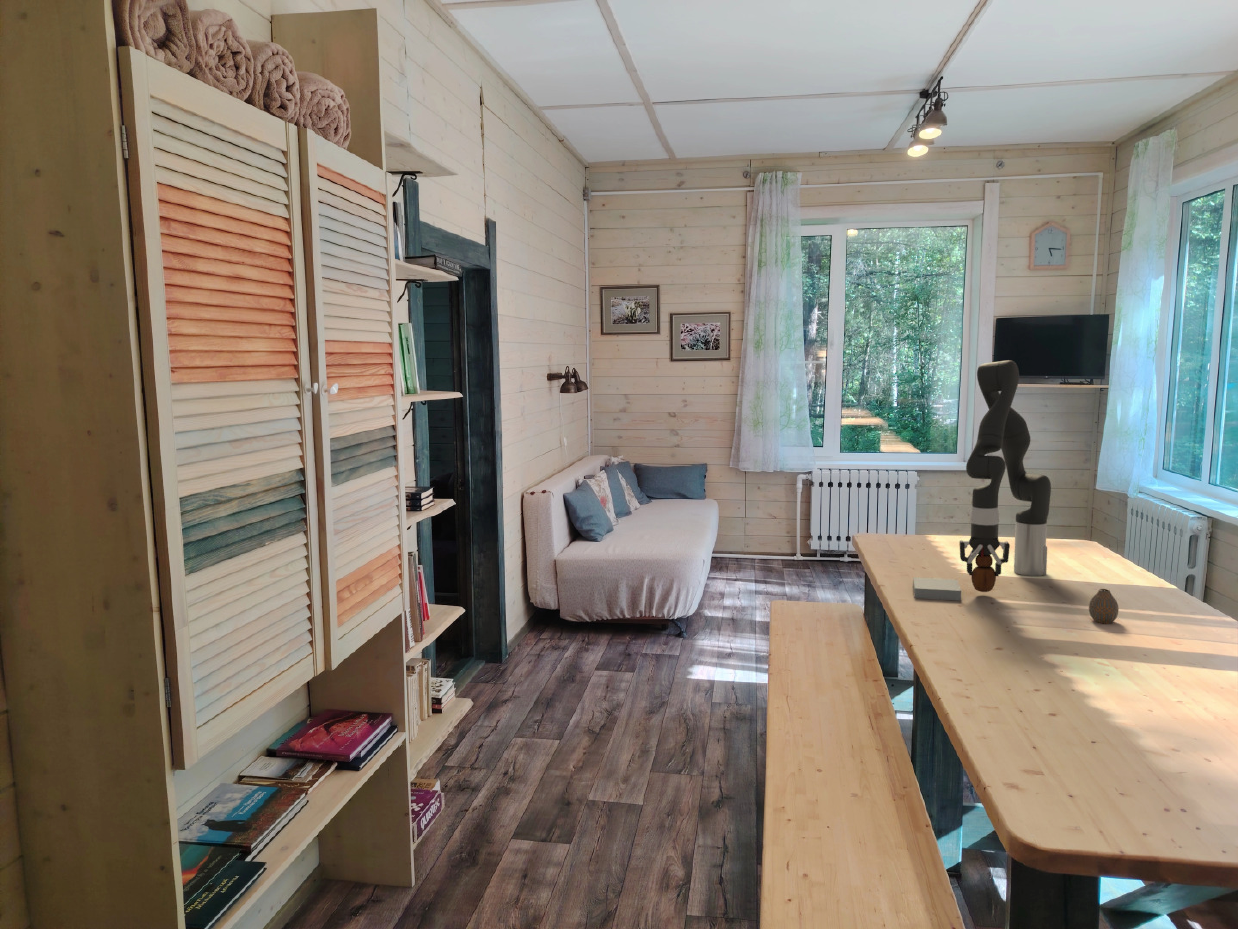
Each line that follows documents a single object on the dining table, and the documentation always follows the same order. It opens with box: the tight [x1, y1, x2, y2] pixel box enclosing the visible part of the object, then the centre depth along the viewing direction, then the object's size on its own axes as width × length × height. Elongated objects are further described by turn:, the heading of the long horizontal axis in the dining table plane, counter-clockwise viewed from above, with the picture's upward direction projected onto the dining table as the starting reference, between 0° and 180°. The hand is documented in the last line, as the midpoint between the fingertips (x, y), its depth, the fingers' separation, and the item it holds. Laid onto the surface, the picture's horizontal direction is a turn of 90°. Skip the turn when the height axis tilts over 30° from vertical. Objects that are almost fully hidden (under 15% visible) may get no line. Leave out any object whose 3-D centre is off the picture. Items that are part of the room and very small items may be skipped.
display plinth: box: [912, 576, 962, 602], centre depth 249 cm, size 13×13×3 cm
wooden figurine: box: [971, 543, 997, 593], centre depth 244 cm, size 7×6×15 cm
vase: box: [1088, 588, 1120, 624], centre depth 219 cm, size 7×7×9 cm
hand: (983, 575), depth 245 cm, fingers closed on wooden figurine, 6 cm apart
